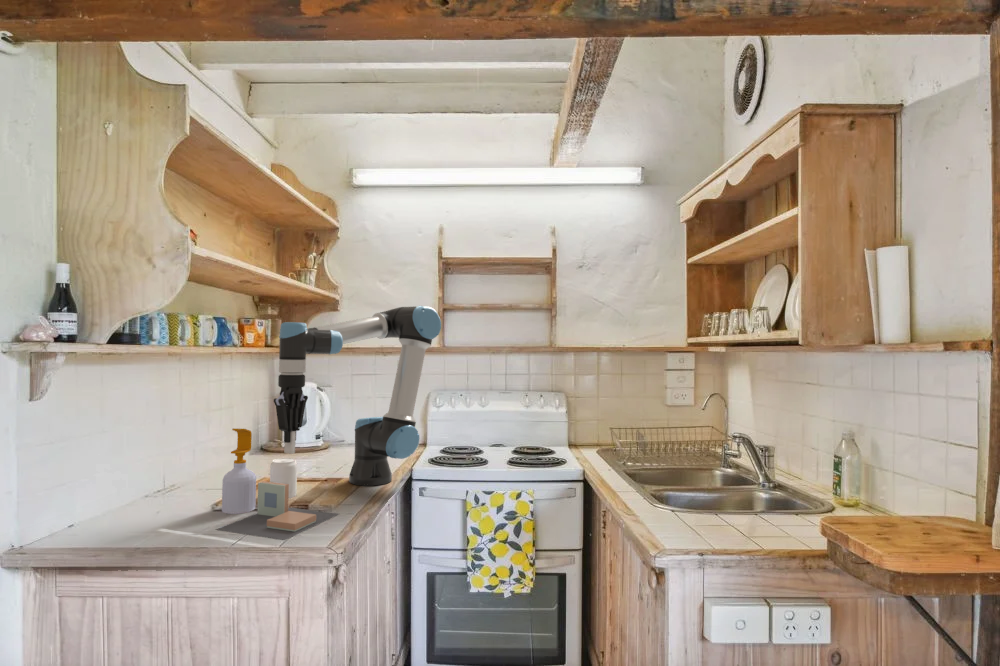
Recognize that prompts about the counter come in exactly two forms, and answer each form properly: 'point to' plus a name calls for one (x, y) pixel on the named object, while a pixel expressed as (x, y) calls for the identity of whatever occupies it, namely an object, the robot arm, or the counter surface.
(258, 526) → the mat
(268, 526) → the tile
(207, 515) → the counter surface
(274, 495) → the tile
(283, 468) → the beverage can
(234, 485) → the soap bottle
